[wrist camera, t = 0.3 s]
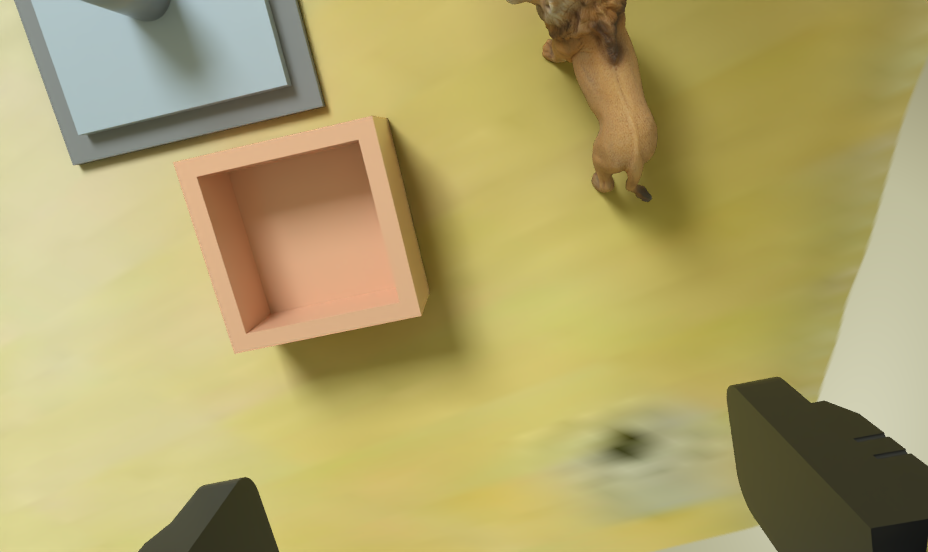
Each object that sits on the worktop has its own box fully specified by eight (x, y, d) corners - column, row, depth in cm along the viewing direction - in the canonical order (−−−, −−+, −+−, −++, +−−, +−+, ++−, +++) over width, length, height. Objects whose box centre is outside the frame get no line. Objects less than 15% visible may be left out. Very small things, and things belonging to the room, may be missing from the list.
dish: (214, 158, 37) (173, 162, 32) (387, 118, 36) (372, 115, 31) (266, 326, 39) (234, 353, 34) (429, 292, 38) (421, 315, 33)
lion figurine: (487, 1, 34) (486, -46, 25) (569, -54, 33) (598, -121, 25) (610, 220, 37) (648, 247, 28) (689, 175, 36) (753, 187, 27)
